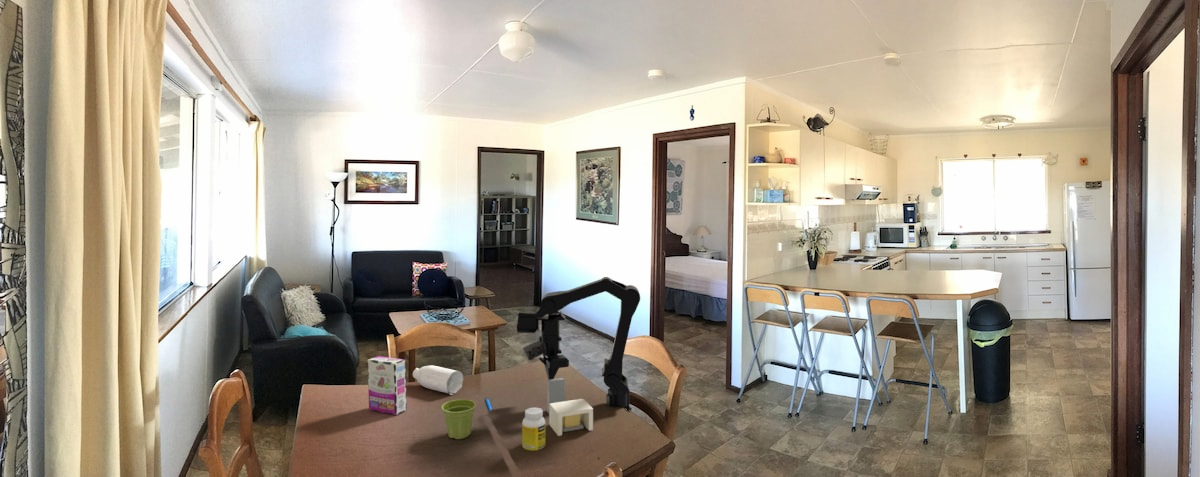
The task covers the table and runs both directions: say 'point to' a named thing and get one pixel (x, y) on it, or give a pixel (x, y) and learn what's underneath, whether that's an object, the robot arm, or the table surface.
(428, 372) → the white plastic bottle
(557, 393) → the bracket
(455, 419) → the plant pot
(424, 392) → the table surface
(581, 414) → the tunnel
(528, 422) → the pill bottle
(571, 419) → the block
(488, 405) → the pen
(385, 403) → the candy bar box
